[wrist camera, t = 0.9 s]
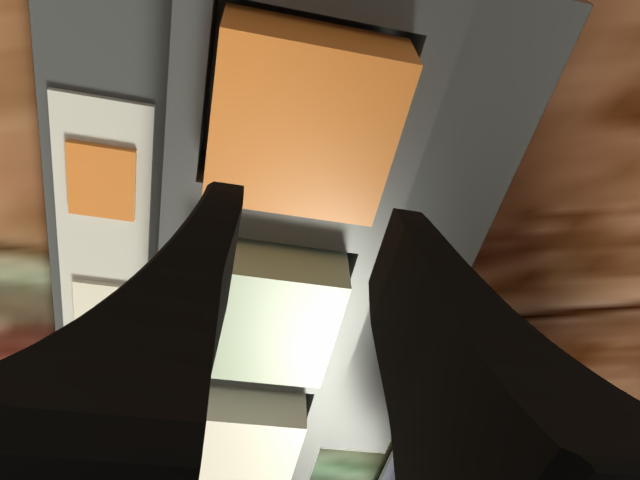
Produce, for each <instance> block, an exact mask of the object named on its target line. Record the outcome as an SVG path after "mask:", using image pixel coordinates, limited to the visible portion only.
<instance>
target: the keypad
mask: <svg viewBox="0 0 640 480" xmlns="http://www.w3.org/2000/svg"><path fill="white" fill-rule="evenodd" d="M226 2H228V3H233V4H238V5H243V6H248V7H253V8H259V9H264V10H269V11H274V12H279V13H284V14H289V15H294V16H299V17H304V18H309V19H314V20H319V21H325V22H330V23H335V24H340V25H345V26H350V27H355V28H360V29H365V30H370V31H375V32H380V33H385V34H391V35H396V36H401V37H406V38H410V40H411V42H412V44H413V46H414V48H415V50H416V52H417V54H418V56H419V58H420V60H421V62H422V64H423V68H422V71H421V74H420V77H419V80H418V83H417V87H416V90H415V93H414V96H413V99H412V102H411V105H410V109H409V112H408V115H407V118H406V121H405V124H404V127H403V130H402V134H401V137H400V140H399V143H398V146H397V149H396V152H395V156H394V159H393V162H392V165H391V168H390V171H389V174H388V178H387V181H386V184H385V187H384V190H383V193H382V196H381V199H380V203H379V206H378V209H377V212H376V215H375V218H374V221H373V225H372V227H368V226H361V225H354V224H347V223H340V222H333V221H326V220H319V219H312V218H305V217H298V216H291V215H284V214H277V213H270V212H262V211H255V210H248V209H242V213H241V220H240V226H239V233H238V238H243V239H251V240H258V241H266V242H273V243H280V244H288V245H295V246H303V247H310V248H318V249H325V250H333V251H340V252H347V256H348V264H349V271H350V279H351V286H352V290H351V294H350V297H349V300H348V303H347V306H346V309H345V312H344V316H343V319H342V322H341V325H340V328H339V331H338V334H337V338H336V341H335V344H334V347H333V350H332V353H331V356H330V359H329V363H328V366H327V369H326V372H325V375H324V378H323V381H322V385H321V388H320V389H317V388H307V387H296V386H286V385H275V384H265V383H255V382H244V381H234V380H223V379H213V378H211V382H210V384H211V385H222V386H232V387H243V388H253V389H264V390H275V391H285V392H296V393H306V408H307V432H306V435H305V438H304V441H303V444H302V447H301V450H300V454H299V457H298V460H297V463H296V466H295V469H294V472H293V476H292V479H291V480H309V479H310V476H311V473H312V470H313V467H314V464H315V461H316V459H317V456H318V453H319V450H320V448H323V449H336V450H348V451H361V452H373V453H385V452H386V450H387V448H388V446H389V444H390V442H391V439H392V438H391V430H390V423H389V416H388V411H387V406H386V401H385V395H384V390H383V385H382V380H381V375H380V370H379V365H378V360H377V355H376V350H375V345H374V339H373V334H372V328H371V323H370V307H369V284H368V281H369V279H370V276H371V273H372V270H373V267H374V264H375V261H376V258H377V255H378V252H379V249H380V246H381V243H382V240H383V237H384V234H385V231H386V228H387V225H388V222H389V219H390V216H391V213H392V210H393V208H397V209H404V210H411V211H417V212H422V213H423V214H424V215H425V216H426V217H427V218H428V219H429V220H430V221H431V223H432V224H433V225H434V226H435V227H436V228H437V229H438V230H439V231H440V233H441V234H442V235H443V236H444V237H445V238H446V239H447V241H448V242H449V243H450V244H451V245H452V246H453V247H454V249H455V250H456V251H457V252H458V253H459V254H460V255H461V256H462V258H463V259H464V260H465V261H466V262H467V263H468V264H469V265H470V266H471V267H472V265H473V263H474V261H475V259H476V257H477V254H478V252H479V250H480V248H481V246H482V244H483V242H484V239H485V237H486V235H487V233H488V231H489V229H490V226H491V224H492V222H493V220H494V218H495V216H496V214H497V211H498V209H499V207H500V205H501V203H502V201H503V199H504V196H505V194H506V192H507V190H508V188H509V186H510V183H511V181H512V179H513V177H514V175H515V173H516V171H517V168H518V166H519V164H520V162H521V160H522V158H523V155H524V153H525V151H526V149H527V147H528V145H529V143H530V140H531V138H532V136H533V134H534V132H535V130H536V128H537V125H538V123H539V121H540V119H541V117H542V115H543V112H544V110H545V108H546V106H547V104H548V102H549V100H550V97H551V95H552V93H553V91H554V89H555V87H556V84H557V82H558V80H559V78H560V76H561V74H562V72H563V69H564V67H565V65H566V63H567V61H568V59H569V57H570V54H571V52H572V50H573V48H574V46H575V44H576V41H577V39H578V37H579V35H580V33H581V31H582V29H583V26H584V24H585V22H586V20H587V18H588V16H589V13H590V11H591V9H592V7H593V4H591V3H590V2H588V1H587V0H29V13H30V25H31V37H32V50H33V62H34V74H35V86H36V99H37V111H38V123H39V136H40V148H41V160H42V173H43V185H44V197H45V209H46V222H47V234H48V246H49V259H50V271H51V283H52V295H53V308H54V320H55V331H57V330H58V329H60V328H62V327H63V326H65V325H67V324H68V323H70V322H72V321H73V320H75V319H77V318H78V317H80V316H81V315H83V314H84V313H86V312H87V311H88V310H90V309H91V308H93V307H94V306H96V305H97V304H98V303H100V302H101V301H102V300H104V299H105V298H106V297H108V296H109V295H110V294H112V293H113V292H114V291H116V290H117V289H118V288H119V287H120V286H122V285H123V284H124V283H125V282H126V281H128V280H129V279H130V278H131V277H132V276H133V275H134V274H136V273H137V272H138V271H139V270H140V269H141V268H142V267H143V266H144V265H145V264H146V263H147V262H148V261H149V260H150V259H151V258H152V257H153V256H154V255H155V254H156V253H157V252H158V251H159V250H160V249H161V248H162V247H163V246H164V245H165V244H166V243H167V242H168V241H169V239H170V238H171V237H172V236H173V235H174V234H175V232H176V231H177V230H178V229H179V227H180V226H181V225H182V224H183V222H184V221H185V220H186V219H187V217H188V216H189V215H190V213H191V212H192V210H193V209H194V208H195V206H196V205H197V203H198V202H199V200H200V198H201V197H202V189H203V180H204V170H205V161H206V151H207V142H208V132H209V123H210V113H211V104H212V95H213V85H214V76H215V66H216V57H217V47H218V38H219V28H220V24H221V20H222V16H223V12H224V9H225V5H226Z"/></svg>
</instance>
